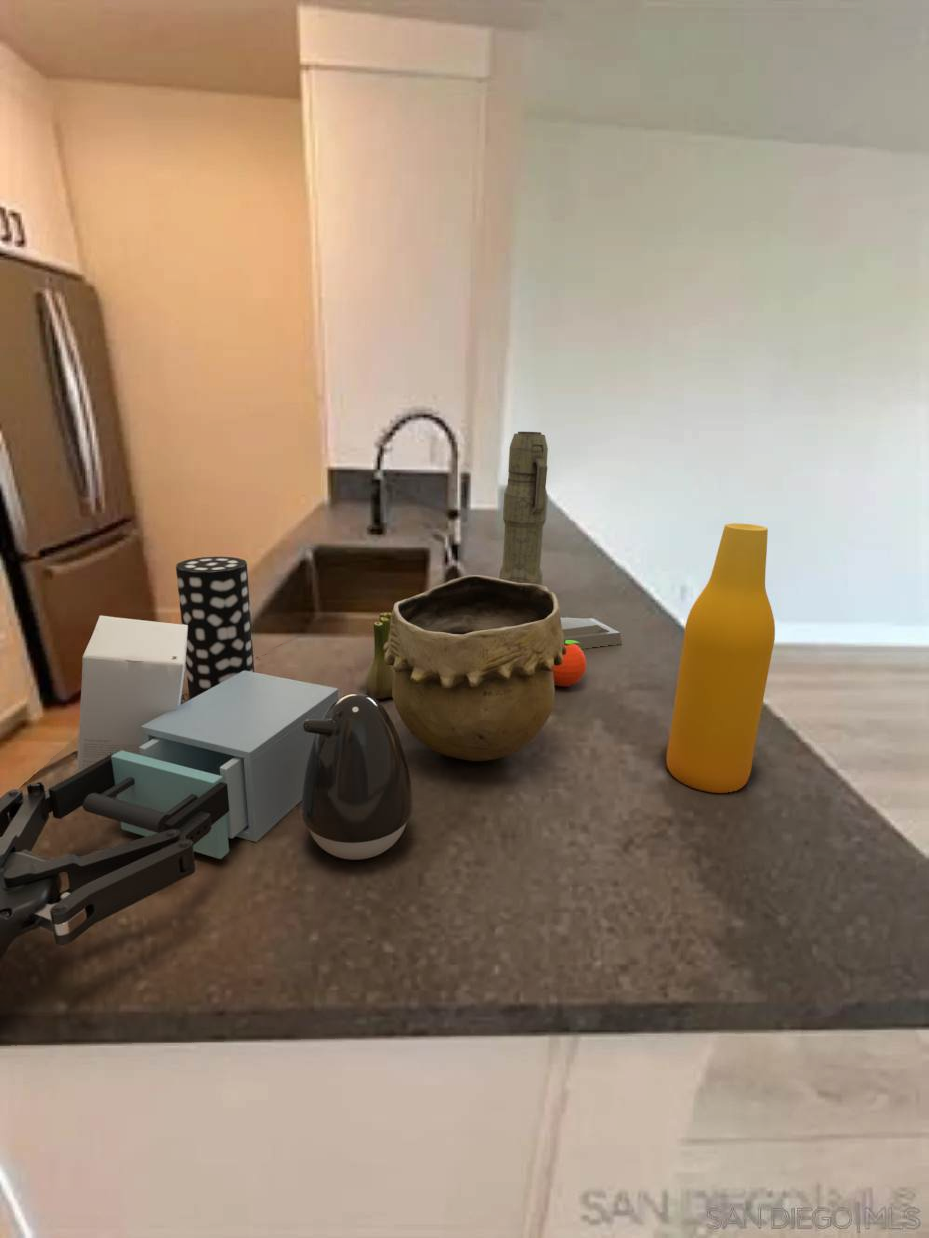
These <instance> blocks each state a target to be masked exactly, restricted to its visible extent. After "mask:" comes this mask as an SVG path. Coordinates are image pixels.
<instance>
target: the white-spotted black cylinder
mask: <svg viewBox="0 0 929 1238" xmlns="http://www.w3.org/2000/svg"><path fill="white" fill-rule="evenodd" d="M175 571H176V582H177V592H178V600H179V601H178V603H179V611H180V620H181V624H182V625H188V632H187V649H186V661H185V670H186V680H187V689H188V701H189V700H190V699H192V698H194V697H196V696H198V695H200V694H201V693H203V692H205V691H207V690H209V689H211V688H213V687H214V686H216V685H218V684H220V683H222V682H224V681H225V680H227V679H229V678H231V677H233V676H235V675H237V674H238V673H240V672H242V671H244V670H245V671H250V672H255V662H254V661H255V660H254V659H255V658H254V645H253V632H252V631H253V630H252V618H251V617H252V616H251V603H250V587H249V586H250V585H249V572H248V562H247V560H245V559H243V558H238V557H233V556H204V557H203V556H202V557H196V558H190V559H186V560H183V561H180V562H178V563H176V565H175Z"/></svg>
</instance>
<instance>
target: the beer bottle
mask: <svg viewBox="0 0 929 1238" xmlns="http://www.w3.org/2000/svg"><path fill="white" fill-rule="evenodd" d="M768 533H769V530H768V527H766V526H763V525H758V524H750V523H739V522H738V523H737V522H736V523H733V522H732V523H725V524H724V527H723V529H722V534H721V538H720V540H719V545H718V548H717V549H718V550H717V551H716V552H717V553H716V555H715V560H714V564H713V568H712V571H711V574H710V577H709V580H708V581H707V583H706V585H705V587H704V588H703V589H702V591H701V593H700V594H699V595H698V597H697V598H696V600H695V601H694V603H693V605H692V607H691V608H690V610H689V613H688V616H687V619H686V622H685V627H684V631H683V641H682V647H681V655H680V662H679V670H678V677H677V682H676V683H677V684H676V691H675V697H674V703H673V712H672V720H671V727H670V733H669V739H668V745H667V750H666V766H667V769H668V771H669V773H670V775H672V776H673V778H674V779H676V780H677V781H678V782H679V783H681V784H684V785H685V786H687V787H689V788H692V789H695V790H698V791H702V792H707V793H713V794H728V792H729V793H734V792H737V791H738V790H741V789H742V788H743V787H744V786H745V785H746V784H747V782H748V780H749V778H750V775H751V772H752V766H753V760H754V751H755V747H756V741H757V736H758V730H759V725H760V720H761V715H762V714H761V713H762V709H763V703H764V699H765V692H766V688H767V682H768V676H769V670H770V666H771V661H772V654H773V650H774V646H775V640H776V639H775V638H776V625H775V618H774V613H773V609H772V606H771V603H770V600H769V597H768V593H767V589H766V568H767V553H768V552H767V551H768ZM733 791H734V792H733Z"/></svg>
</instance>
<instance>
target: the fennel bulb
mask: <svg viewBox="0 0 929 1238" xmlns="http://www.w3.org/2000/svg"><path fill="white" fill-rule="evenodd" d="M391 615H392V612H383V613H379V622H378V621H377V622H373V638H374V639H373V640H374V641H373V643H374V654H373V655H374V656H373V658H372V660H371V662H370V664H369V667H368V669H367V672H366V676H365V688H366V691H367V692H368V693H367V694H369V696H371V697H373V698H375V699H376V700H383V699H389V698H393V697H392V687H393V680H394V676H395V669H394V667H393V665H387V664H386V663H385V653H386V652H385V651H384V647H383V646H384V645H385V644H386V643H387V642H388V638H389V632H390V620H391Z"/></svg>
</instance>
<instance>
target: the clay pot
mask: <svg viewBox="0 0 929 1238" xmlns="http://www.w3.org/2000/svg"><path fill="white" fill-rule="evenodd" d="M391 614H392V615H391V620H390V632H389V638H388V642H387V643H386V644H385V645H384V646H383V647H384V651H385V652H386V653H385V663H386V664H387V665H393V667H394V669H395V676H394V680H393V687H392V697H391V698H392V700H393V704H394V706H395V709H396V711H397V713H398V715H399V718H400V719H401V721H402V722H403V724H404V725H405V727H406V729H407V730H408V731H410V733H411V734H412V735H413V736H414V737H415V738H416V739H417V740H418V741H419V742H420V743H421V744H423V745H424V746H426V747H427V748H429V749H431V750H432V751H433V752H437V753H439V754H440V755H443V756H446V757H451V758H454V759H458V760H464V761H470V762H487V761H494V760H497V759H498V760H499V759H502V758H505V757H508V756H510V755H512V754H514V753H516V752H519V751H521V750H522V749H523V748H525V747H526V746H527V745H529V744H530V743H531V742H532V741H533V739H534V738H535V737H536V736H537V735H538V734H539V732H540V731H541V730H542V729H543V727H544V726H545V724H546V723H547V721H548V720H549V718H550V716H551V714H552V712H553V708H554V701H555V695H556V691H555V690H556V689H555V685H554V678H553V667H554V665H556V666H558V665H561V664H562V655H565V654H566V652H567V648H566V647H565V645H564V639H563V637H564V634H563V631H562V625H561V618H562V617H561V609H560V604H559V599H558V598H557V595H556V593H554V591H550V590H549V588H548V587H547V586H544V585H542V586H541V585H537V584H529V583H516V582H511V581H506V580H502V579H500V578H497V577H492V576H489V575H480V574H470V575H465V576H461V577H458V578H454V579H450V580H449V581H447V582H445V583H442V584H440V585H436V586H434V587H432V588H430V589H428V590H427V591H423V592H422V593H418V594H416V595H414V596H411V597H409V598H405V599H402V600H399V601H396V602H394V604H393V609H392V612H391Z"/></svg>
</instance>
